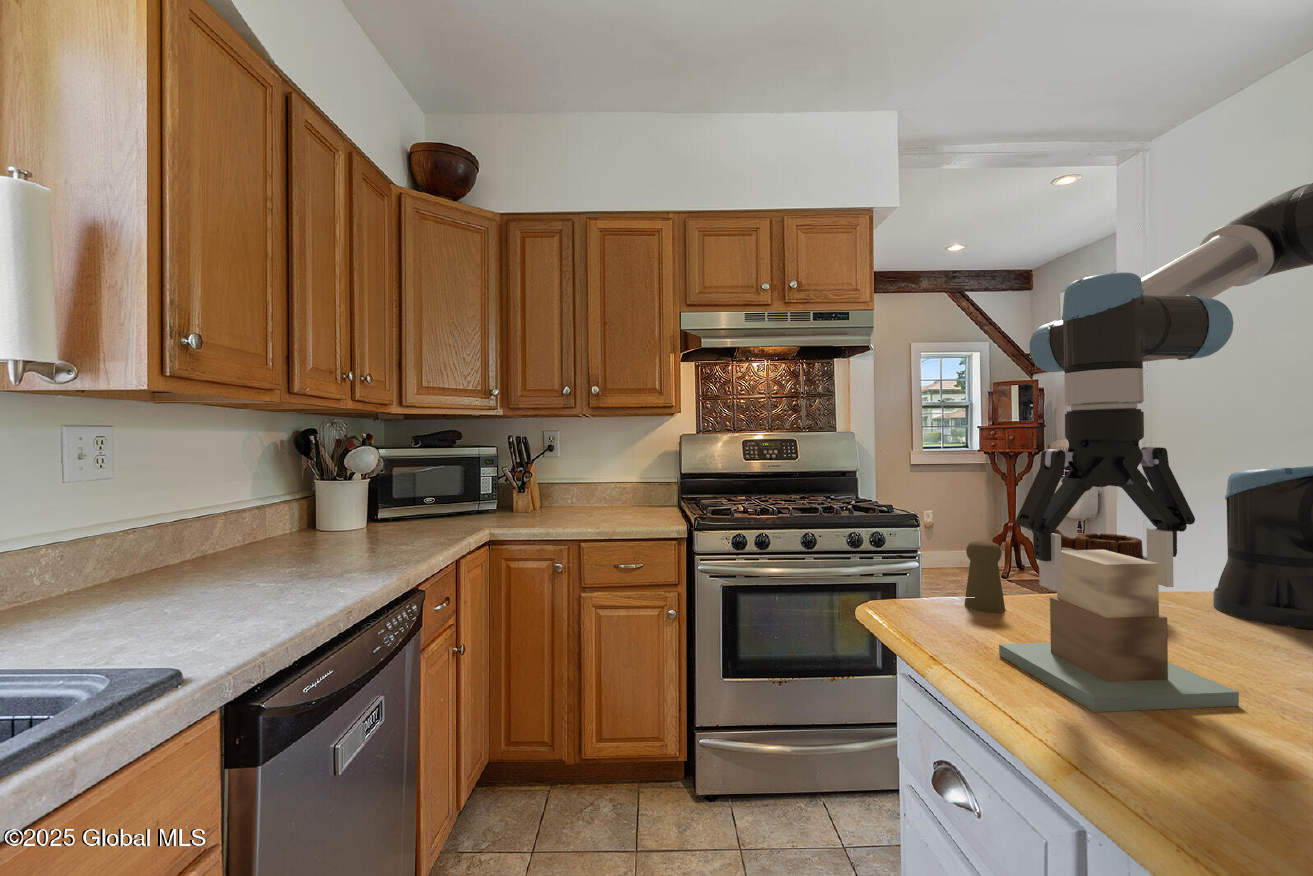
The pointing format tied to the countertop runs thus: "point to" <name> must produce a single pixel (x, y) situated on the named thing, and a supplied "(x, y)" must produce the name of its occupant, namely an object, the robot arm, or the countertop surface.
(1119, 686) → the baseplate
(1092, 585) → the maple cap block
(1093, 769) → the countertop surface
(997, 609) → the olive pepper shaker
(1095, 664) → the walnut brick
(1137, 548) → the mug
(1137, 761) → the countertop surface
